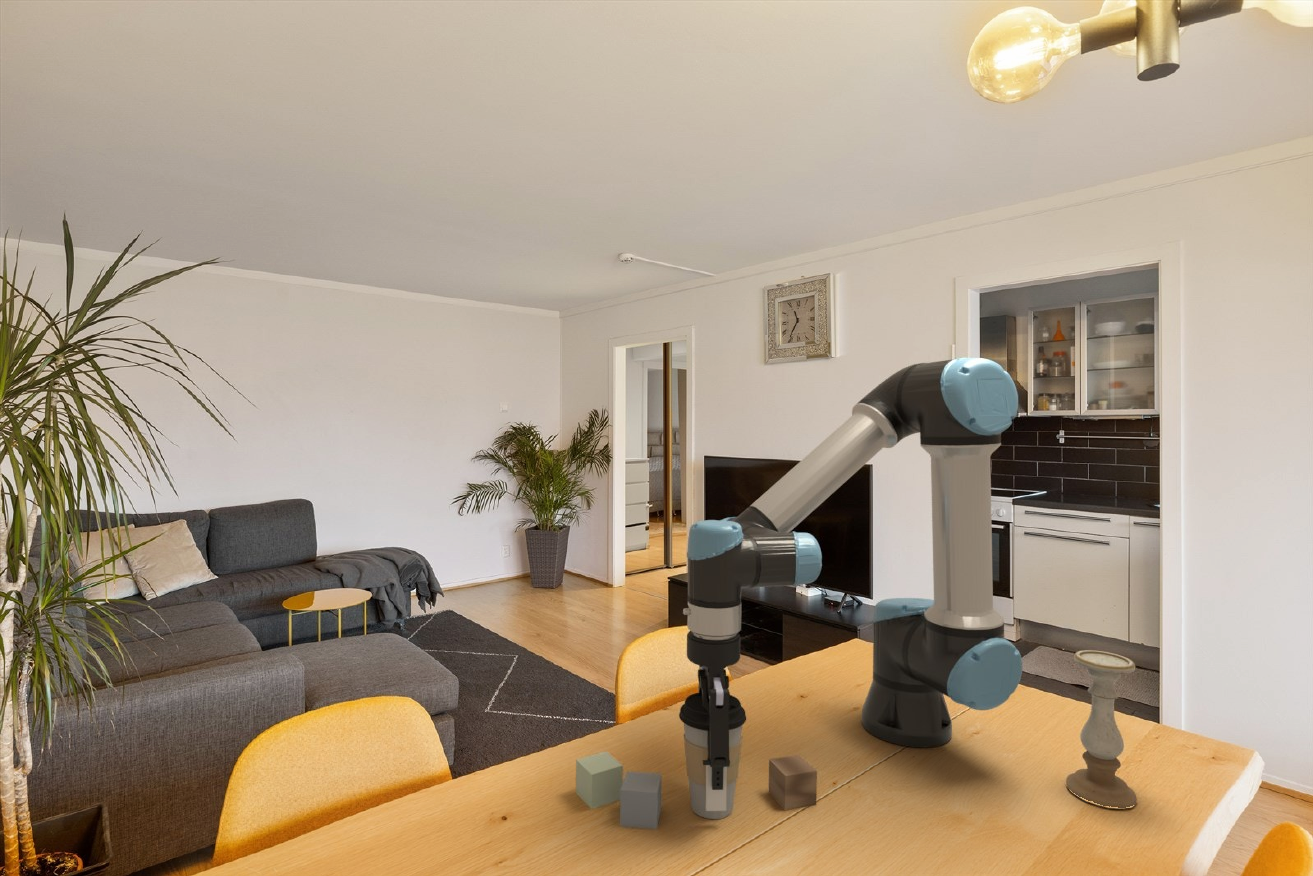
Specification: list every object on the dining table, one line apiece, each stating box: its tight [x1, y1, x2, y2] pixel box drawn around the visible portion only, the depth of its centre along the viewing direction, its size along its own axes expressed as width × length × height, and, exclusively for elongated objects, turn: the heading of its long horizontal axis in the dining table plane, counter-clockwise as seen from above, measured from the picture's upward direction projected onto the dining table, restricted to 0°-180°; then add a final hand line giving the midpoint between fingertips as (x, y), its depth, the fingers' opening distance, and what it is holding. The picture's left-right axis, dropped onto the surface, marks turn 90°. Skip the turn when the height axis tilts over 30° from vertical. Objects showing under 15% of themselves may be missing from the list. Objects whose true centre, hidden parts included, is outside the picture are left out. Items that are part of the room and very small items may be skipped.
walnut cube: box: [768, 754, 818, 812], centre depth 99 cm, size 5×5×5 cm
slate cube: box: [619, 771, 663, 830], centre depth 94 cm, size 5×5×5 cm
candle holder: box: [1065, 649, 1138, 808], centre depth 101 cm, size 9×9×20 cm
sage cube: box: [575, 750, 624, 810], centre depth 100 cm, size 5×5×5 cm
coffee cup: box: [678, 692, 747, 820], centre depth 97 cm, size 9×9×15 cm
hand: (711, 791), depth 97 cm, fingers closed on coffee cup, 8 cm apart
